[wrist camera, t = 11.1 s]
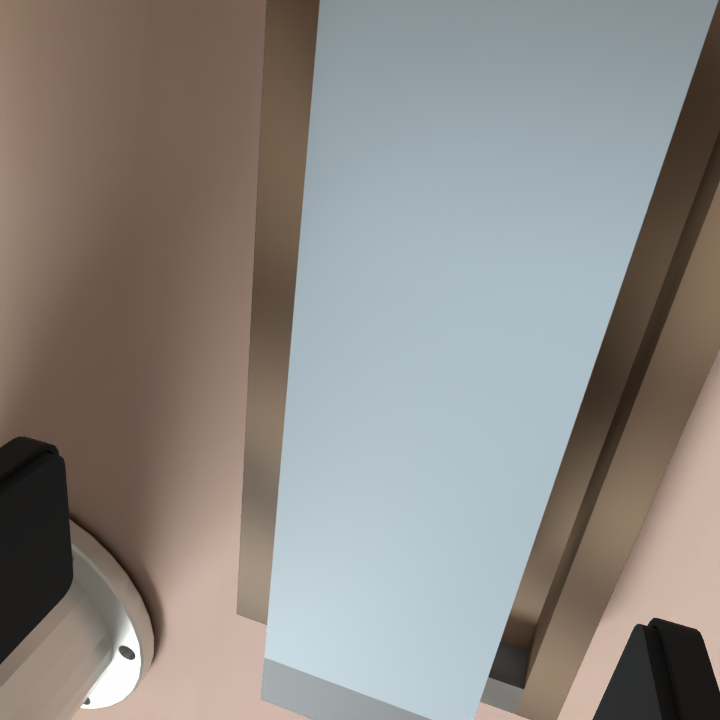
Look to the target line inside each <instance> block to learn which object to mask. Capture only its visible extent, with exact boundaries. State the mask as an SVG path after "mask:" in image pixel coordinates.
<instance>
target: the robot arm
mask: <svg viewBox="0 0 720 720" xmlns="http://www.w3.org/2000/svg"><path fill="white" fill-rule="evenodd" d="M153 656H154V635H153V631H152V626H151V621H150V617H149V615H148V612H147V610H146V607H145V605H144V603H143V600H142V598H141V596H140V594H139V592H138V591H137V589H136V587H135V586H134V584H133V583H132V581H131V579H130V578H129V576H128V575H127V573H126V572H125V571H124V570H123V568H122V567H121V566H120V565H119V563H118V562H117V561H116V560H115V559H114V557H113V556H112V555H111V554H110V553H109V552H108V551H107V550H106V549H105V548H104V547H103V546H102V545H101V544H100V543H99V542H98V541H97V540H96V539H95V538H94V537H93V536H91V535H90V534H89V533H87V532H86V531H85V530H84V529H82V528H81V527H80V526H78V525H77V524H76V523H74V522H73V521H72V520H70V519H69V509H68V497H67V484H66V471H65V462H64V459H63V458H62V457H61V456H59V452H58V449H57V448H56V447H55V446H54V445H51V444H48V443H45V442H41V441H38V440H34V439H31V438H27V437H17V438H15V439H13V440H11V441H10V442H8V443H7V444H5V445H4V446H2V447H1V448H0V720H71V719H72V718H73V716H74V715H75V714H76V712H77V711H78V710H79V708H92V709H95V708H101V707H107V706H112V705H114V704H117V703H119V702H121V701H123V700H125V699H126V698H127V697H128V696H129V695H131V694H132V693H133V692H134V691H135V690H136V688H137V687H138V685H139V684H140V682H141V681H142V679H143V678H144V676H145V675H146V673H147V672H148V670H149V668H150V665H151V662H152V659H153ZM593 720H720V691H719V688H718V685H717V682H716V678H715V675H714V672H713V669H712V666H711V662H710V659H709V656H708V653H707V650H706V647H705V643H704V640H703V638H702V635H701V633H700V632H699V631H698V630H697V629H693V628H690V627H686V626H683V625H680V624H676V623H673V622H669V621H666V620H662V619H659V618H653V619H652V620H651V621H650V622H649V624H648V626H645V625H642V624H637V625H636V626H635V627H634V629H633V631H632V633H631V635H630V638H629V640H628V642H627V644H626V647H625V649H624V651H623V653H622V655H621V658H620V660H619V662H618V664H617V667H616V669H615V671H614V673H613V675H612V678H611V680H610V682H609V684H608V687H607V689H606V691H605V693H604V695H603V698H602V700H601V702H600V704H599V707H598V709H597V711H596V713H595V715H594V718H593Z"/></svg>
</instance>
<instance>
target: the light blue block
mask: <svg viewBox="0 0 720 720" xmlns="http://www.w3.org/2000/svg"><path fill="white" fill-rule="evenodd" d="M717 3H718V0H320V5H319V17H318V28H317V40H316V52H315V64H314V76H313V88H312V99H311V111H310V123H309V135H308V147H307V159H306V170H305V182H304V194H303V206H302V218H301V230H300V242H299V253H298V265H297V277H296V289H295V301H294V313H293V324H292V336H291V348H290V360H289V372H288V384H287V395H286V407H285V419H284V431H283V443H282V455H281V466H280V478H279V490H278V502H277V514H276V526H275V538H274V549H273V561H272V573H271V585H270V597H269V609H268V620H267V632H266V644H265V656H264V668H263V680H262V691H261V700H264V701H266V702H269V703H271V704H274V705H276V706H279V707H282V708H284V709H287V710H289V711H292V712H295V713H297V714H300V715H302V716H305V717H307V718H310V719H313V720H474V717H475V714H476V711H477V708H478V705H479V702H480V699H481V696H482V693H483V690H484V688H485V685H486V682H487V679H488V676H489V673H490V670H491V667H492V664H493V661H494V658H495V655H496V652H497V649H498V646H499V643H500V641H501V638H502V635H503V632H504V629H505V626H506V623H507V620H508V617H509V614H510V611H511V608H512V605H513V602H514V599H515V596H516V594H517V591H518V588H519V585H520V582H521V579H522V576H523V573H524V570H525V567H526V564H527V561H528V558H529V555H530V552H531V549H532V546H533V544H534V541H535V538H536V535H537V532H538V529H539V526H540V523H541V520H542V517H543V514H544V511H545V508H546V505H547V502H548V499H549V497H550V494H551V491H552V488H553V485H554V482H555V479H556V476H557V473H558V470H559V467H560V464H561V461H562V458H563V455H564V452H565V450H566V447H567V444H568V441H569V438H570V435H571V432H572V429H573V426H574V423H575V420H576V417H577V414H578V411H579V408H580V405H581V403H582V400H583V397H584V394H585V391H586V388H587V385H588V382H589V379H590V376H591V373H592V370H593V367H594V364H595V361H596V358H597V356H598V353H599V350H600V347H601V344H602V341H603V338H604V335H605V332H606V329H607V326H608V323H609V320H610V317H611V314H612V311H613V309H614V306H615V303H616V300H617V297H618V294H619V291H620V288H621V285H622V282H623V279H624V276H625V273H626V270H627V267H628V264H629V261H630V259H631V256H632V253H633V250H634V247H635V244H636V241H637V238H638V235H639V232H640V229H641V226H642V223H643V220H644V217H645V214H646V212H647V209H648V206H649V203H650V200H651V197H652V194H653V191H654V188H655V185H656V182H657V179H658V176H659V173H660V170H661V167H662V165H663V162H664V159H665V156H666V153H667V150H668V147H669V144H670V141H671V138H672V135H673V132H674V129H675V126H676V123H677V120H678V118H679V115H680V112H681V109H682V106H683V103H684V100H685V97H686V94H687V91H688V88H689V85H690V82H691V79H692V76H693V73H694V71H695V68H696V65H697V62H698V59H699V56H700V53H701V50H702V47H703V44H704V41H705V38H706V35H707V32H708V29H709V26H710V24H711V21H712V18H713V15H714V12H715V9H716V6H717Z"/></svg>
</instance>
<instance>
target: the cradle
mask: <svg viewBox="0 0 720 720" xmlns="http://www.w3.org/2000/svg"><path fill="white" fill-rule="evenodd" d="M319 5H320V0H267V8H266V28H265V49H264V69H263V89H262V109H261V129H260V150H259V170H258V190H257V210H256V231H255V251H254V271H253V291H252V311H251V332H250V352H249V372H248V392H247V413H246V433H245V453H244V473H243V493H242V514H241V534H240V554H239V574H238V595H237V614H238V615H240V616H243V617H246V618H249V619H251V620H254V621H257V622H260V623H263V624H265V625H267V620H268V609H269V597H270V585H271V573H272V561H273V549H274V538H275V526H276V514H277V502H278V490H279V478H280V466H281V455H282V443H283V431H284V419H285V407H286V395H287V384H288V372H289V360H290V348H291V336H292V324H293V313H294V301H295V289H296V277H297V265H298V253H299V242H300V230H301V218H302V206H303V194H304V182H305V170H306V159H307V147H308V135H309V123H310V111H311V99H312V88H313V76H314V64H315V52H316V40H317V28H318V17H319ZM719 348H720V0H718V3H717V6H716V9H715V12H714V15H713V18H712V21H711V24H710V26H709V29H708V32H707V35H706V38H705V41H704V44H703V47H702V50H701V53H700V56H699V59H698V62H697V65H696V68H695V71H694V73H693V76H692V79H691V82H690V85H689V88H688V91H687V94H686V97H685V100H684V103H683V106H682V109H681V112H680V115H679V118H678V120H677V123H676V126H675V129H674V132H673V135H672V138H671V141H670V144H669V147H668V150H667V153H666V156H665V159H664V162H663V165H662V167H661V170H660V173H659V176H658V179H657V182H656V185H655V188H654V191H653V194H652V197H651V200H650V203H649V206H648V209H647V212H646V214H645V217H644V220H643V223H642V226H641V229H640V232H639V235H638V238H637V241H636V244H635V247H634V250H633V253H632V256H631V259H630V261H629V264H628V267H627V270H626V273H625V276H624V279H623V282H622V285H621V288H620V291H619V294H618V297H617V300H616V303H615V306H614V309H613V311H612V314H611V317H610V320H609V323H608V326H607V329H606V332H605V335H604V338H603V341H602V344H601V347H600V350H599V353H598V356H597V358H596V361H595V364H594V367H593V370H592V373H591V376H590V379H589V382H588V385H587V388H586V391H585V394H584V397H583V400H582V403H581V405H580V408H579V411H578V414H577V417H576V420H575V423H574V426H573V429H572V432H571V435H570V438H569V441H568V444H567V447H566V450H565V452H564V455H563V458H562V461H561V464H560V467H559V470H558V473H557V476H556V479H555V482H554V485H553V488H552V491H551V494H550V497H549V499H548V502H547V505H546V508H545V511H544V514H543V517H542V520H541V523H540V526H539V529H538V532H537V535H536V538H535V541H534V544H533V546H532V549H531V552H530V555H529V558H528V561H527V564H526V567H525V570H524V573H523V576H522V579H521V582H520V585H519V588H518V591H517V594H516V596H515V599H514V602H513V605H512V608H511V611H510V614H509V617H508V620H507V623H506V626H505V629H504V632H503V635H502V638H501V641H500V643H499V646H498V649H497V652H496V655H495V658H494V661H493V664H492V667H491V670H490V673H489V676H488V679H487V682H486V685H485V688H484V690H483V693H482V696H481V699H480V702H483V703H486V704H488V705H491V706H494V707H497V708H500V709H502V710H505V711H508V712H511V713H514V714H516V715H519V716H522V717H525V718H527V719H530V720H557V718H558V716H559V713H560V711H561V709H562V707H563V704H564V702H565V700H566V697H567V695H568V693H569V691H570V688H571V686H572V684H573V681H574V679H575V677H576V675H577V672H578V670H579V668H580V665H581V663H582V661H583V659H584V656H585V654H586V652H587V649H588V647H589V645H590V643H591V640H592V638H593V636H594V633H595V631H596V629H597V627H598V624H599V622H600V620H601V617H602V615H603V613H604V611H605V608H606V606H607V604H608V601H609V599H610V597H611V595H612V592H613V590H614V588H615V585H616V583H617V581H618V579H619V576H620V574H621V572H622V569H623V567H624V565H625V563H626V560H627V558H628V556H629V553H630V551H631V549H632V547H633V544H634V542H635V540H636V537H637V535H638V533H639V531H640V528H641V526H642V524H643V521H644V519H645V517H646V515H647V512H648V510H649V508H650V505H651V503H652V501H653V499H654V496H655V494H656V492H657V489H658V487H659V485H660V483H661V480H662V478H663V476H664V473H665V471H666V469H667V467H668V464H669V462H670V460H671V457H672V455H673V453H674V451H675V448H676V446H677V444H678V441H679V439H680V437H681V435H682V432H683V430H684V428H685V425H686V423H687V421H688V419H689V416H690V414H691V412H692V409H693V407H694V405H695V403H696V400H697V398H698V396H699V393H700V391H701V389H702V387H703V384H704V382H705V380H706V377H707V375H708V373H709V371H710V368H711V366H712V364H713V361H714V359H715V357H716V355H717V352H718V350H719Z"/></svg>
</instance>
